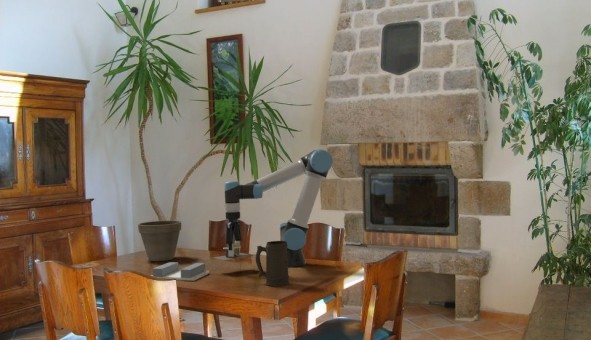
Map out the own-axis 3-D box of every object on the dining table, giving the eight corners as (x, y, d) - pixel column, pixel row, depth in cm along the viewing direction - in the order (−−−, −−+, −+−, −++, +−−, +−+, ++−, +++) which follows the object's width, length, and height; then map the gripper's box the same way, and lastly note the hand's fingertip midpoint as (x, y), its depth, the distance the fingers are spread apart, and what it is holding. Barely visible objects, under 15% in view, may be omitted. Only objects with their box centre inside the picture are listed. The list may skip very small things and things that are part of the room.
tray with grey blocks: (208, 273, 318) (208, 263, 318) (194, 280, 301) (193, 269, 301) (166, 272, 325) (166, 262, 325) (149, 278, 308) (148, 268, 307)
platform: (254, 255, 322) (253, 242, 322) (224, 260, 311) (223, 247, 311) (242, 253, 332) (241, 240, 332) (212, 257, 321) (211, 244, 321)
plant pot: (130, 262, 358) (129, 224, 357) (153, 255, 381) (152, 219, 380) (168, 263, 350) (167, 225, 349) (189, 256, 373) (188, 220, 373)
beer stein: (290, 281, 295) (286, 239, 295) (291, 285, 284) (287, 242, 284) (258, 284, 295) (254, 242, 294) (257, 289, 284) (253, 245, 283)
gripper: (233, 209, 333) (235, 251, 333) (218, 213, 312) (219, 258, 313) (246, 209, 331) (248, 251, 331) (232, 213, 310) (233, 258, 311)
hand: (234, 254), depth 322 cm, fingers closed on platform, 8 cm apart
